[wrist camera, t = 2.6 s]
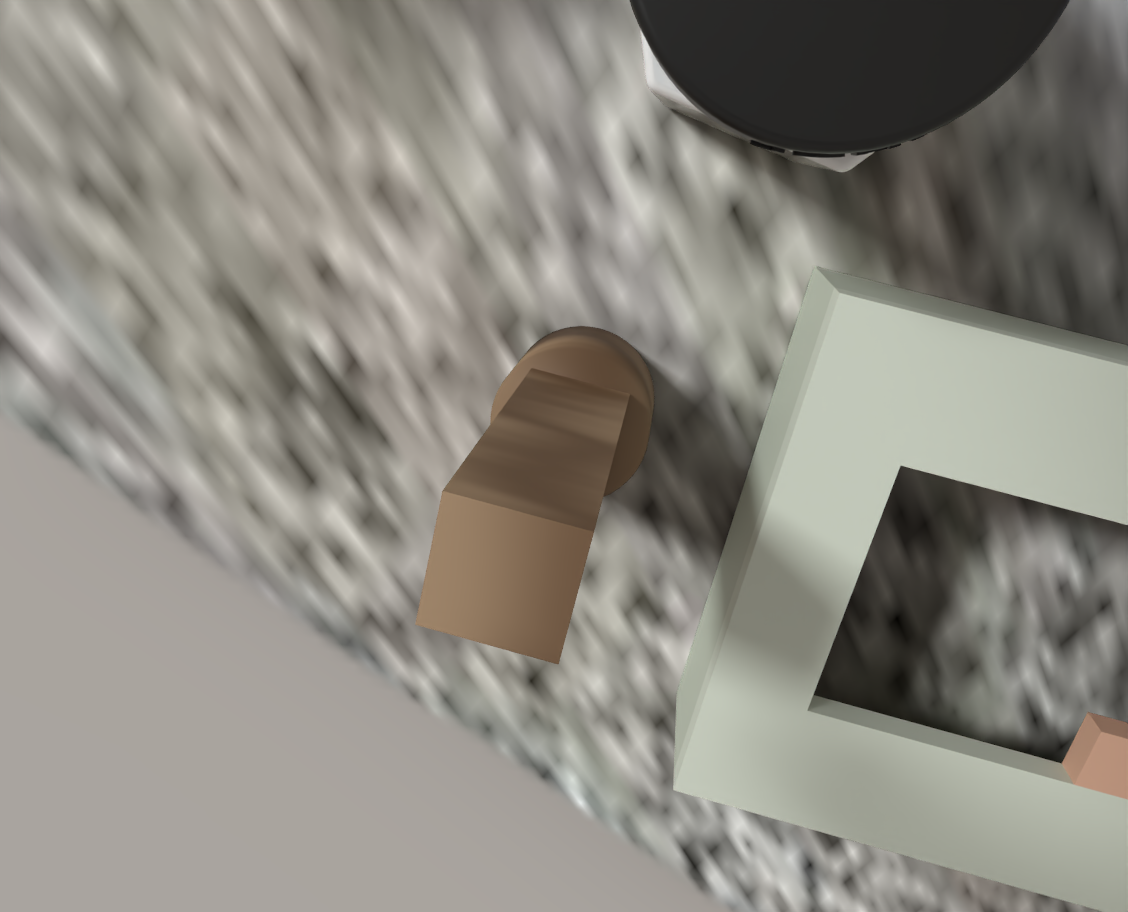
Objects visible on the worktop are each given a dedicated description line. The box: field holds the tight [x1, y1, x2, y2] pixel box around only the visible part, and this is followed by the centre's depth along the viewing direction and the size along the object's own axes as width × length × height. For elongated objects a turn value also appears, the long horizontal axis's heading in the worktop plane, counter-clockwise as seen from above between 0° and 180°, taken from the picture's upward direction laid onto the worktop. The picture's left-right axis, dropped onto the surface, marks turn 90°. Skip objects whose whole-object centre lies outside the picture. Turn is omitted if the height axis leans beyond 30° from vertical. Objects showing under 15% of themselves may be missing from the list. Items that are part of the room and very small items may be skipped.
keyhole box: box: [673, 266, 1128, 912], centre depth 29 cm, size 22×16×6 cm
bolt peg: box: [415, 326, 655, 664], centre depth 25 cm, size 5×5×14 cm
